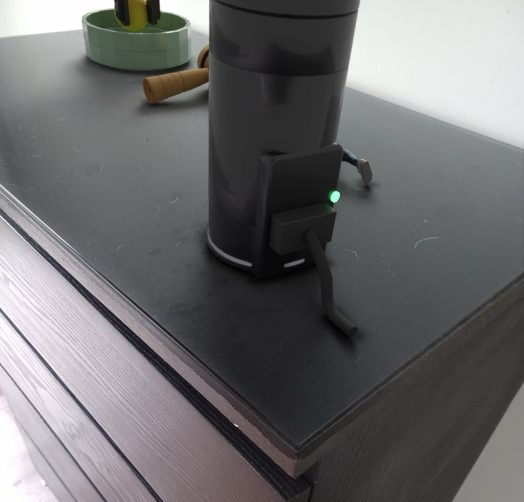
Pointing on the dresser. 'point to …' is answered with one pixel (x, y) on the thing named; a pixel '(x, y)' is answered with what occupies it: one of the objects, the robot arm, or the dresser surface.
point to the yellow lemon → (136, 15)
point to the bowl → (137, 42)
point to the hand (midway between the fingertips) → (139, 23)
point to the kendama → (177, 80)
